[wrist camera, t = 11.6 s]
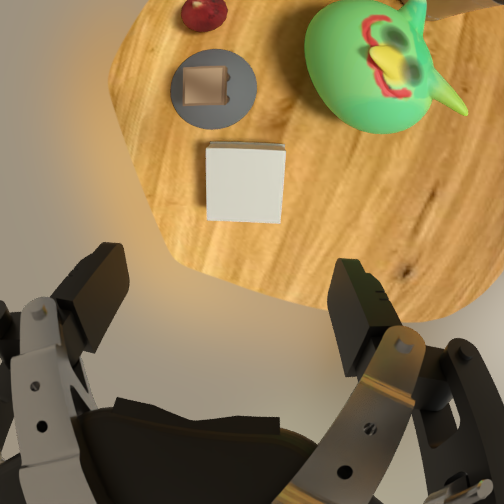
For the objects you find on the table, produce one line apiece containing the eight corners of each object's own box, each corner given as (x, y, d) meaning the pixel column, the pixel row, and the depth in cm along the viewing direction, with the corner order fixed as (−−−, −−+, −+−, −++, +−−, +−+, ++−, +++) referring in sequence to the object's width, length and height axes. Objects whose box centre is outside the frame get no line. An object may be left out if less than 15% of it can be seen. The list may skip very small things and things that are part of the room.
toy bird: (279, 27, 29) (289, -11, 16) (383, 9, 26) (433, -19, 13) (324, 139, 37) (356, 160, 24) (420, 115, 34) (480, 129, 21)
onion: (223, -2, 27) (215, -23, 20) (235, 29, 29) (229, 12, 22) (183, 12, 28) (167, -6, 21) (195, 42, 30) (180, 29, 23)
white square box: (210, 141, 38) (204, 146, 33) (284, 144, 38) (287, 149, 33) (211, 208, 43) (205, 221, 39) (279, 211, 43) (281, 225, 39)
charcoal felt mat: (172, 52, 31) (171, 52, 31) (258, 49, 31) (258, 49, 31) (171, 130, 37) (170, 130, 37) (255, 130, 37) (255, 130, 37)
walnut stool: (196, 73, 32) (182, 67, 26) (231, 72, 32) (225, 65, 26) (195, 105, 35) (182, 106, 28) (230, 104, 35) (223, 105, 28)
